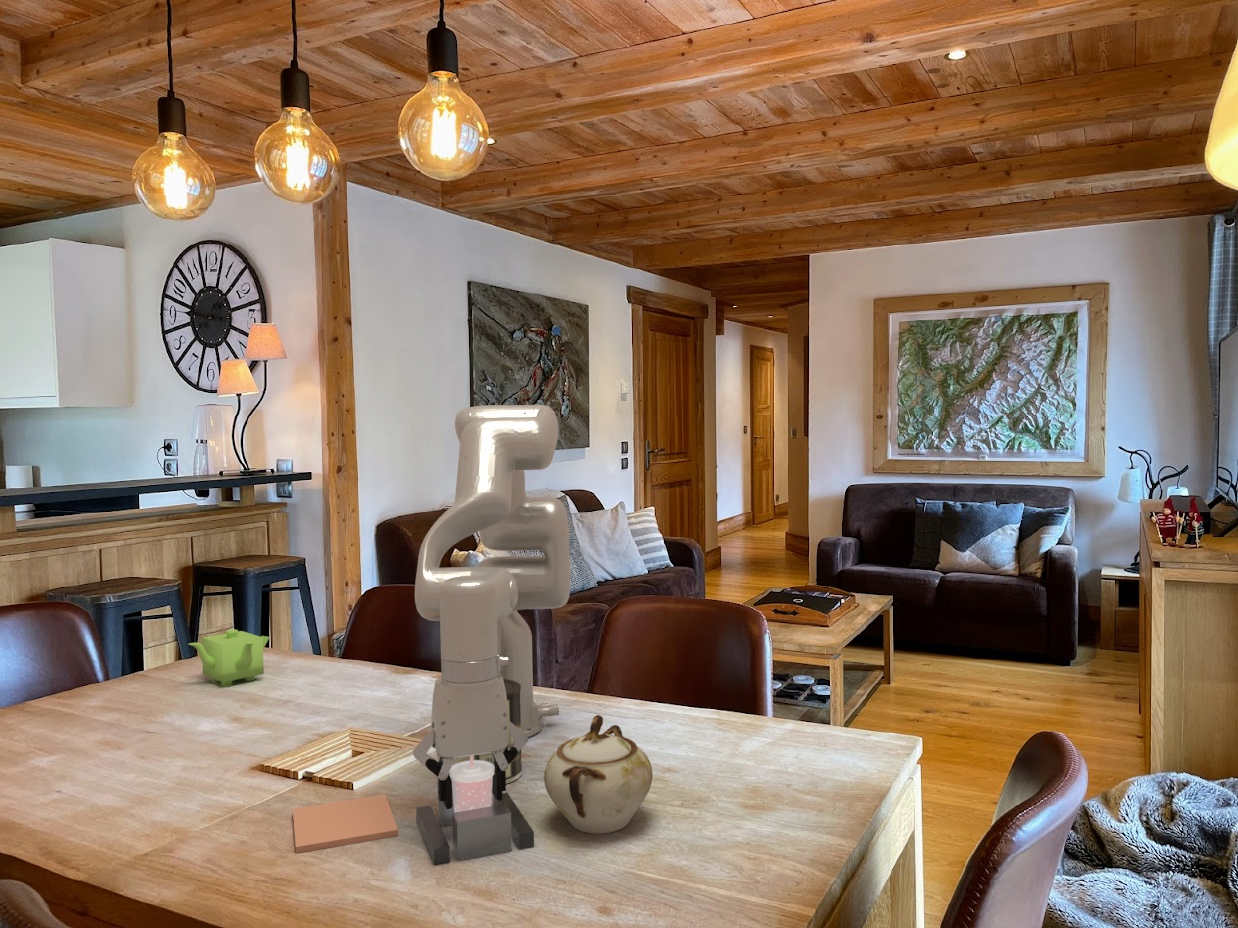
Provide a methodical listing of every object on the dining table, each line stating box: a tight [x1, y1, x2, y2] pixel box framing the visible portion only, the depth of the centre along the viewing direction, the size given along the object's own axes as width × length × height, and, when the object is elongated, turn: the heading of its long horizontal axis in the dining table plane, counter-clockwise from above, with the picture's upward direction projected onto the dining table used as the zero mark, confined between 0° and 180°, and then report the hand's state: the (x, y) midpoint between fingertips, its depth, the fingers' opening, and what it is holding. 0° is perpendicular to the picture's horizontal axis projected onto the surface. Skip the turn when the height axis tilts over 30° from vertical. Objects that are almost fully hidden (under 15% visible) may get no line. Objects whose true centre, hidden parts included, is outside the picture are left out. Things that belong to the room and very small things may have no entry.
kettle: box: [187, 629, 270, 687], centre depth 203 cm, size 15×14×11 cm
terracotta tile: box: [292, 794, 399, 854], centre depth 126 cm, size 13×13×1 cm
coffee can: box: [457, 679, 524, 785], centre depth 144 cm, size 10×10×14 cm
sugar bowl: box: [543, 714, 654, 835], centre depth 126 cm, size 20×15×15 cm
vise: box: [415, 782, 535, 866], centre depth 123 cm, size 13×14×5 cm
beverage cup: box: [449, 756, 495, 813], centre depth 123 cm, size 6×6×14 cm
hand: (472, 799), depth 123 cm, fingers closed on beverage cup, 6 cm apart
